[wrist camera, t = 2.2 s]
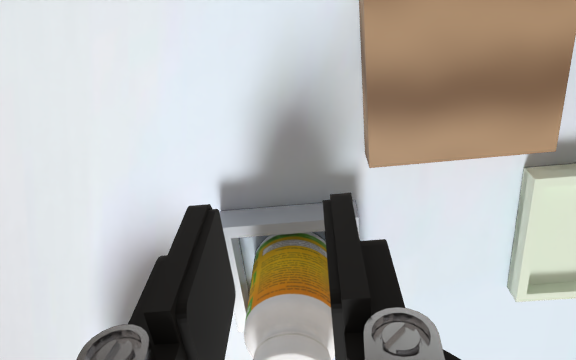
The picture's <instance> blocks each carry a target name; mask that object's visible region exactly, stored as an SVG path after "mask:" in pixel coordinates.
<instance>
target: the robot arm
mask: <svg viewBox="0 0 576 360" xmlns="http://www.w3.org/2000/svg"><path fill="white" fill-rule="evenodd" d="M323 213H324V226H325V239H326V252H327V265H328V278H329V290H330V303H331V314H332V326H333V337H334V349H335V360H461V359H459V358H457V357H456V356H454V355H452V354H450V353H448V352H447V351H445V350H443V349H442V345H441V340H440V336H439V333H438V331H437V328H436V326H435V324H434V323H433V322H432V321H431V320H430V319H429V318H428V317H426V316H425V315H423V314H421V313H420V312H417V311H414V310H411V309H408V308H405V305H404V302H403V298H402V294H401V291H400V287H399V284H398V280H397V276H396V273H395V269H394V266H393V262H392V258H391V255H390V251H389V248H388V244H387V241H386V240H385V239H383V240H370V241H360V239H359V233H358V228H357V223H356V218H355V212H354V207H353V202H352V197H351V193H343V194H330V200H323ZM235 298H236V291H235V284H234V279H233V275H232V270H231V265H230V260H229V256H228V251H227V246H226V241H225V236H224V232H223V227H222V222H221V217H220V213H219V210H218V209H212V207H211V205H210V204H208V205H196V206H189V207H188V208H187V210H186V213H185V215H184V218H183V220H182V222H181V225H180V227H179V229H178V232H177V234H176V236H175V239H174V241H173V244H172V246H171V248H170V251H169V253H168V255H166V256H160V257H159V258H158V259H157V261H156V263H155V265H154V268H153V270H152V272H151V274H150V277H149V279H148V281H147V283H146V286H145V288H144V290H143V292H142V294H141V297H140V299H139V301H138V303H137V306H136V308H135V310H134V312H133V314H132V317H131V319H130V321H129V323H128V325H119V326H114V327H111V328H109V329H106V330H104V331H102V332H100V333H99V334H97V335H96V336H94V337H93V338H92V339H91V340H90V341H89V342H88V343H87V344H86V345H85V346H84V347H83V349H82V350H81V352H80V353H79V355H78V357H77V360H224V359H225V354H226V348H227V343H228V337H229V332H230V326H231V321H232V316H233V310H234V305H235Z"/></svg>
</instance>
